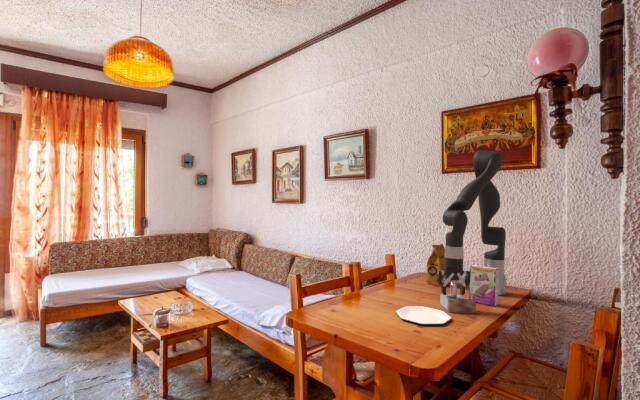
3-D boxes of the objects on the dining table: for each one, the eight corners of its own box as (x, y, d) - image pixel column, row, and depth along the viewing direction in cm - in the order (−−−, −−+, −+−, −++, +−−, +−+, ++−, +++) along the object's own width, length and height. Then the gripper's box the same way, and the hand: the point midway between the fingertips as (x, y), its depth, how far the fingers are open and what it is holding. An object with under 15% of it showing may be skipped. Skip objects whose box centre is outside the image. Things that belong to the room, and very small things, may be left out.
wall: (473, 310, 144) (473, 299, 144) (475, 312, 142) (475, 300, 142) (447, 310, 143) (447, 298, 143) (449, 312, 141) (449, 300, 141)
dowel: (454, 305, 149) (455, 282, 149) (457, 306, 146) (458, 283, 146) (448, 304, 149) (449, 281, 149) (451, 306, 146) (452, 283, 146)
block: (458, 304, 152) (458, 294, 152) (466, 310, 144) (466, 299, 144) (440, 304, 151) (440, 294, 151) (447, 310, 143) (447, 299, 143)
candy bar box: (468, 301, 157) (469, 265, 157) (472, 299, 161) (473, 264, 161) (494, 307, 150) (495, 269, 149) (498, 304, 153) (499, 268, 153)
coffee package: (423, 283, 189) (423, 243, 189) (434, 280, 198) (435, 242, 198) (439, 287, 182) (440, 245, 182) (450, 283, 191) (451, 244, 190)
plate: (388, 318, 134) (388, 314, 134) (411, 306, 149) (411, 303, 149) (437, 331, 121) (437, 327, 121) (457, 317, 136) (457, 314, 136)
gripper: (440, 257, 143) (440, 297, 143) (474, 258, 144) (473, 297, 144) (434, 254, 151) (433, 292, 151) (466, 255, 151) (465, 292, 151)
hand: (453, 294), depth 147 cm, fingers open, 7 cm apart
